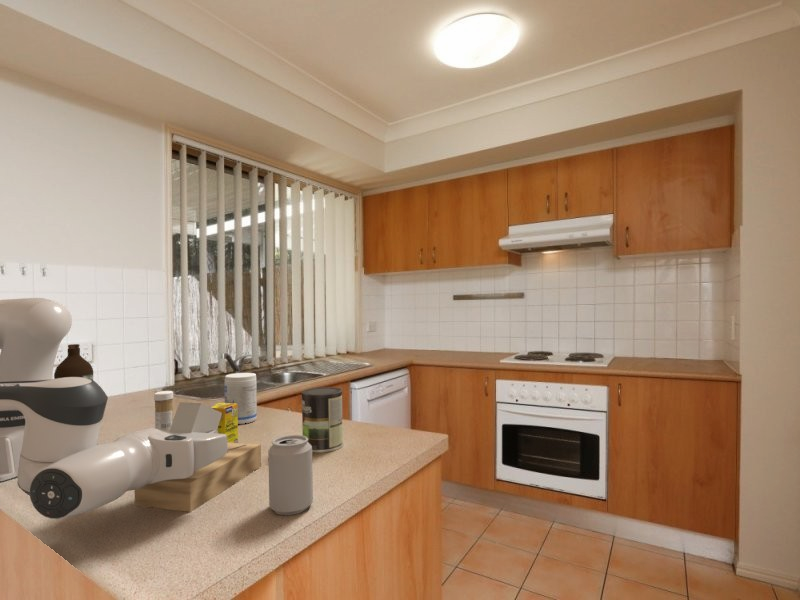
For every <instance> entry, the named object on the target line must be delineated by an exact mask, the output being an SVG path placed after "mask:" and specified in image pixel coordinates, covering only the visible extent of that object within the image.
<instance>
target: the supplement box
mask: <svg viewBox="0 0 800 600" xmlns="http://www.w3.org/2000/svg"><path fill="white" fill-rule="evenodd" d="M208 407H210V408H213V409H215V410H217V411H219V412H221V413H222V415H221V419H220V422H219V425H218V429H217V431H218V434H226V436H227V442H233V443H239V425H238V404H237V403H225V402H217V403H216V404H215V403H214V404H212V405H210V406H208Z"/></svg>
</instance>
